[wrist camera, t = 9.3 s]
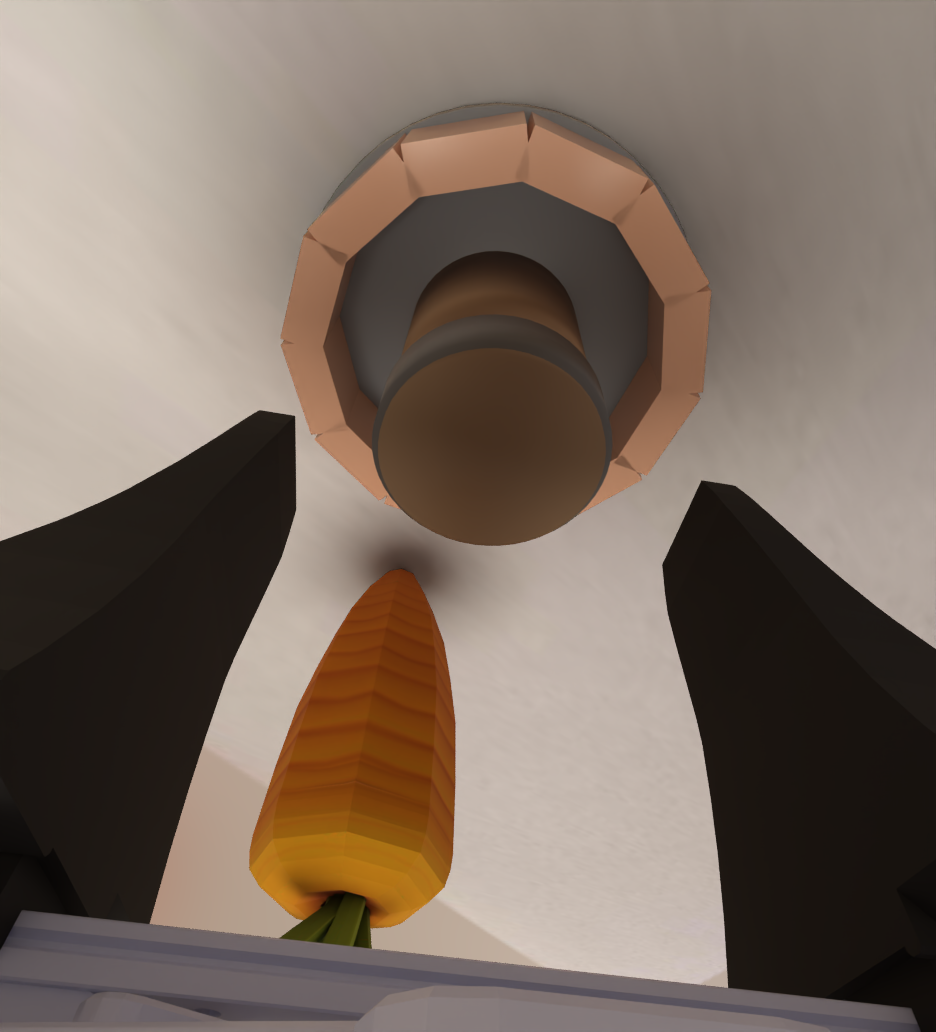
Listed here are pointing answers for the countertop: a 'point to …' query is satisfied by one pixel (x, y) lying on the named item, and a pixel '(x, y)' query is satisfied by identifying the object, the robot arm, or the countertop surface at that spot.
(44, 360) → the countertop surface
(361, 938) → the carrot
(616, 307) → the coaster
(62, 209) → the countertop surface
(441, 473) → the walnut pepper mill
